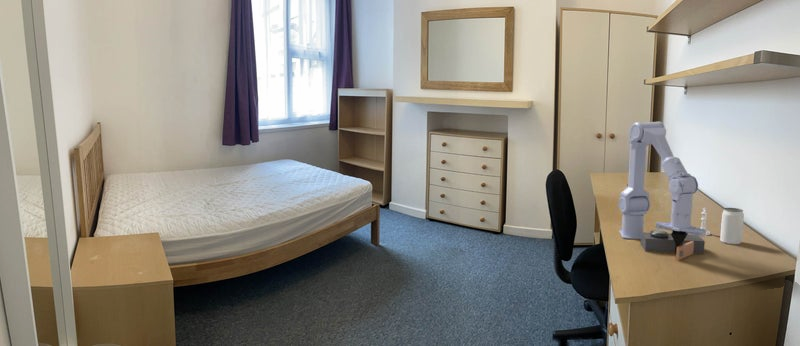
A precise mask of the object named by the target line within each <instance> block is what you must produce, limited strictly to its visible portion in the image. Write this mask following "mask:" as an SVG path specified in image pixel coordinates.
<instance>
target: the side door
mask: <svg viewBox="0 0 800 346" xmlns="http://www.w3.org/2000/svg"><path fill="white" fill-rule="evenodd" d="M693 250H694V241H690V242H688V243H686V244H683V245H681V246H679V247H677V253H675V255H676V257H675V259H676V261H680V260H682V259H685V258H686V257H689V256H691V255H693Z"/></svg>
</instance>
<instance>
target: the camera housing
mask: <svg viewBox="0 0 800 346" xmlns="http://www.w3.org/2000/svg"><path fill="white" fill-rule="evenodd" d="M690 241H694V250H693V254H694V255H704V253H705V243H706V242H705V239H703V237H702V236H700V235H694V234H688V235H687V236H686V238H685V239H684V241H683V243H682V245H683V244H686V243H688V242H690ZM640 246H641V247H642V249H643V250H644V252H655V253H657V252H658V253H673V254H676V253H675V246H676V244H675V242H674V240H673V238H672V236H671V233H669V232H667V231H664V230H659V229H658V230H657V229H656V230H650V232H644V231H643V232H641V239H640ZM693 254H692V255H693Z"/></svg>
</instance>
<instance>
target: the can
mask: <svg viewBox="0 0 800 346" xmlns="http://www.w3.org/2000/svg"><path fill="white" fill-rule="evenodd" d="M744 219H745V213H744V210H743V209H741V208H737V207H724V208H723V211H722V213H721V221H720V222H721V225H720V238H719V239H720V242H721V243H724V244H727V245H732V246H733V245H734V246H736V245H737V246H738V245H740V244H741V243H743V242H742V240H743V230H744Z"/></svg>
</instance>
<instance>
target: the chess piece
mask: <svg viewBox="0 0 800 346" xmlns="http://www.w3.org/2000/svg"><path fill="white" fill-rule="evenodd" d="M706 208H707V207H703V208H702V210H703V211H702V212H701V214H700V215H701V218H700V220H702V221H701V225H700V227H699V228H700V229H705V230H706V236H710V235H711V231H709V230H708V229H707V225H706V221H707V220H708V218H707V216H708V212H707V211H708V210H707V209H706Z"/></svg>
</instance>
